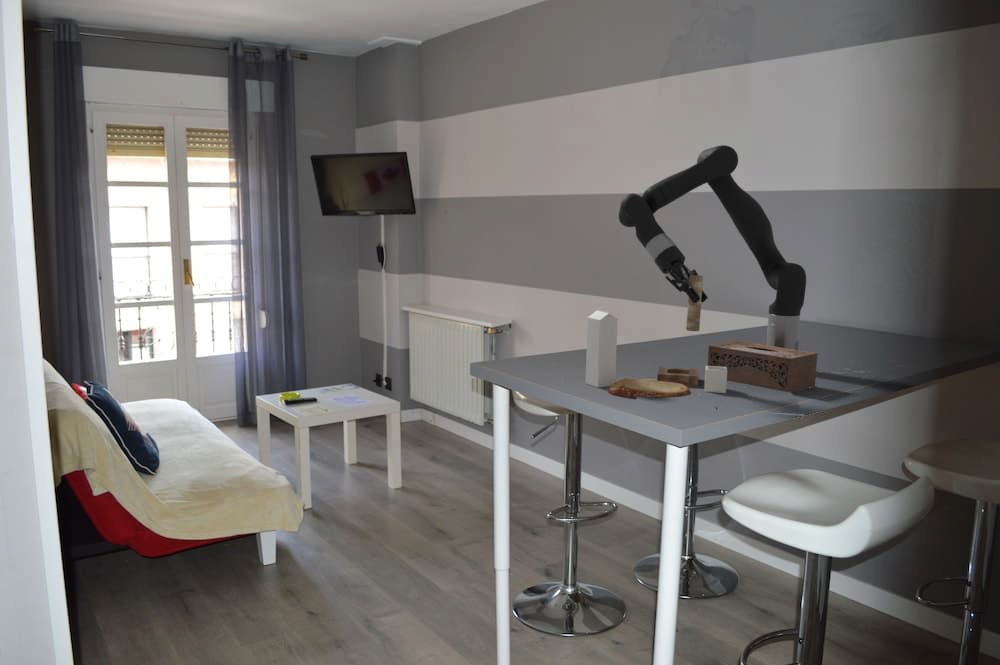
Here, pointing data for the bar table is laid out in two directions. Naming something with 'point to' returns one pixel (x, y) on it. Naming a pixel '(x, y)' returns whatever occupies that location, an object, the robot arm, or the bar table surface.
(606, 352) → the milk
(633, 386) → the bread slice
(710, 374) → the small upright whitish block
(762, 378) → the tissue box cover
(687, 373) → the socket block
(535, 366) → the bar table surface
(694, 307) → the dowel
